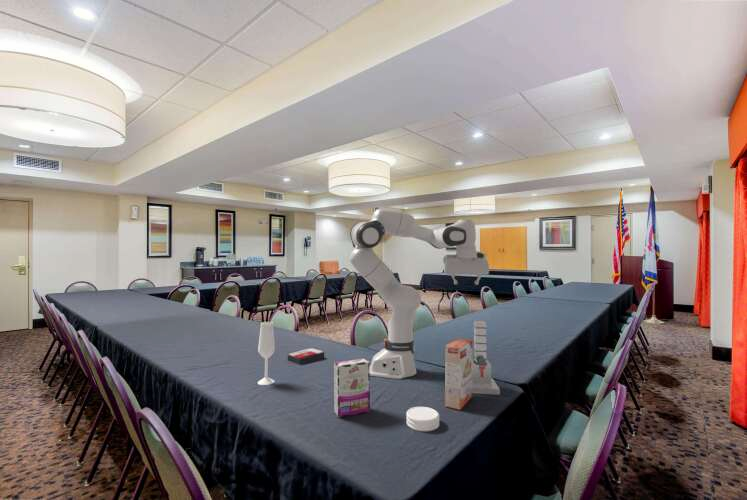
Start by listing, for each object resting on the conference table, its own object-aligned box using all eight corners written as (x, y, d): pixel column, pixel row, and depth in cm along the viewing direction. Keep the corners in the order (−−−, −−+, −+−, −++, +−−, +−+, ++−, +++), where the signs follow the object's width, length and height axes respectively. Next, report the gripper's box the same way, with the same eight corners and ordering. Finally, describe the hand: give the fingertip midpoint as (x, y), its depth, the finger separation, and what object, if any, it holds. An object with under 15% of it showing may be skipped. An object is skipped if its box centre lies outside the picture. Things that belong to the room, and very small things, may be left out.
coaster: (436, 417, 110) (436, 406, 110) (442, 432, 100) (442, 420, 100) (404, 416, 110) (404, 405, 110) (408, 432, 100) (408, 420, 100)
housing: (466, 393, 129) (466, 359, 130) (462, 382, 141) (462, 351, 142) (499, 394, 128) (499, 360, 128) (492, 383, 140) (492, 352, 140)
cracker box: (461, 411, 113) (461, 347, 114) (444, 407, 117) (444, 345, 117) (473, 397, 125) (473, 339, 126) (457, 393, 128) (457, 337, 129)
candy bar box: (364, 406, 117) (364, 357, 118) (370, 412, 112) (370, 361, 113) (333, 412, 112) (333, 361, 113) (337, 418, 108) (338, 365, 108)
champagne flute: (253, 383, 138) (254, 323, 139) (264, 378, 144) (265, 321, 145) (267, 385, 136) (268, 324, 137) (277, 380, 142) (278, 322, 143)
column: (475, 374, 133) (475, 322, 134) (474, 371, 137) (473, 320, 138) (486, 374, 132) (486, 322, 133) (484, 371, 136) (484, 321, 137)
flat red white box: (287, 353, 171) (311, 346, 182) (287, 362, 171) (312, 354, 182) (299, 357, 164) (324, 350, 175) (299, 366, 164) (324, 359, 175)
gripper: (443, 254, 157) (443, 284, 157) (489, 254, 155) (490, 285, 154) (442, 254, 164) (442, 283, 163) (486, 254, 161) (487, 284, 161)
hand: (466, 284), depth 159 cm, fingers open, 8 cm apart
